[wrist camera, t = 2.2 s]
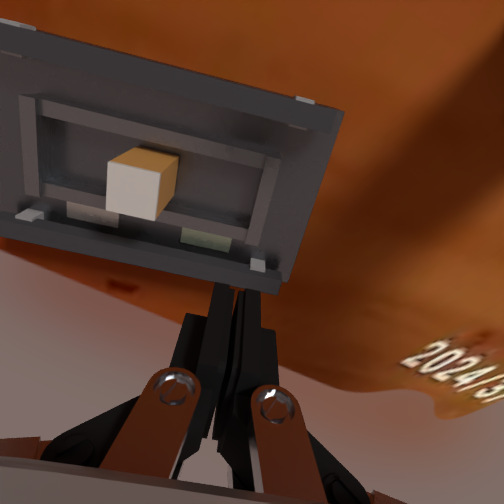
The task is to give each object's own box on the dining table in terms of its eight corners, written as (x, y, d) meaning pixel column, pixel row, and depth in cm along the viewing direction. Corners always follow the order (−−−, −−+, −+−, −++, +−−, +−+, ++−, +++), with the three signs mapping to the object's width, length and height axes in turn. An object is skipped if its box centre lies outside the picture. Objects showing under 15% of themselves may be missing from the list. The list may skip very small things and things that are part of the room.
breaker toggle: (179, 155, 25) (159, 174, 20) (174, 195, 26) (154, 221, 21) (137, 145, 24) (107, 161, 20) (134, 185, 26) (105, 210, 21)
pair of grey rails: (331, 105, 23) (338, 107, 21) (275, 282, 30) (276, 297, 27) (-8, 15, 21) (-36, 9, 19) (11, 225, 28) (-9, 236, 26)
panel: (336, 108, 26) (351, 114, 21) (285, 265, 32) (289, 296, 28) (8, 21, 24) (-50, 9, 20) (21, 207, 30) (-20, 229, 26)
